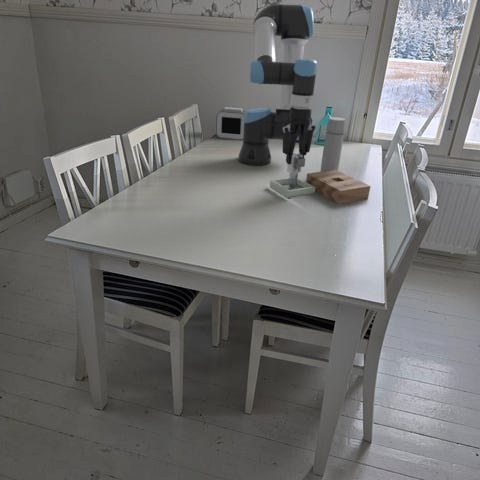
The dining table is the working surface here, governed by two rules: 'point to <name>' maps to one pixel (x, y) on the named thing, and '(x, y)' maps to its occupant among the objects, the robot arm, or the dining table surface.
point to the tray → (285, 192)
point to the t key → (295, 170)
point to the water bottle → (333, 144)
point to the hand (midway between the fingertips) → (293, 171)
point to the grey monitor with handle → (230, 123)
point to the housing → (338, 186)
